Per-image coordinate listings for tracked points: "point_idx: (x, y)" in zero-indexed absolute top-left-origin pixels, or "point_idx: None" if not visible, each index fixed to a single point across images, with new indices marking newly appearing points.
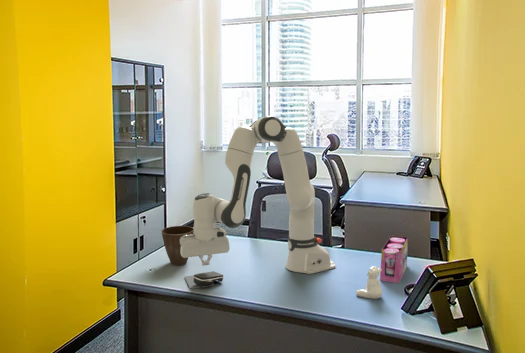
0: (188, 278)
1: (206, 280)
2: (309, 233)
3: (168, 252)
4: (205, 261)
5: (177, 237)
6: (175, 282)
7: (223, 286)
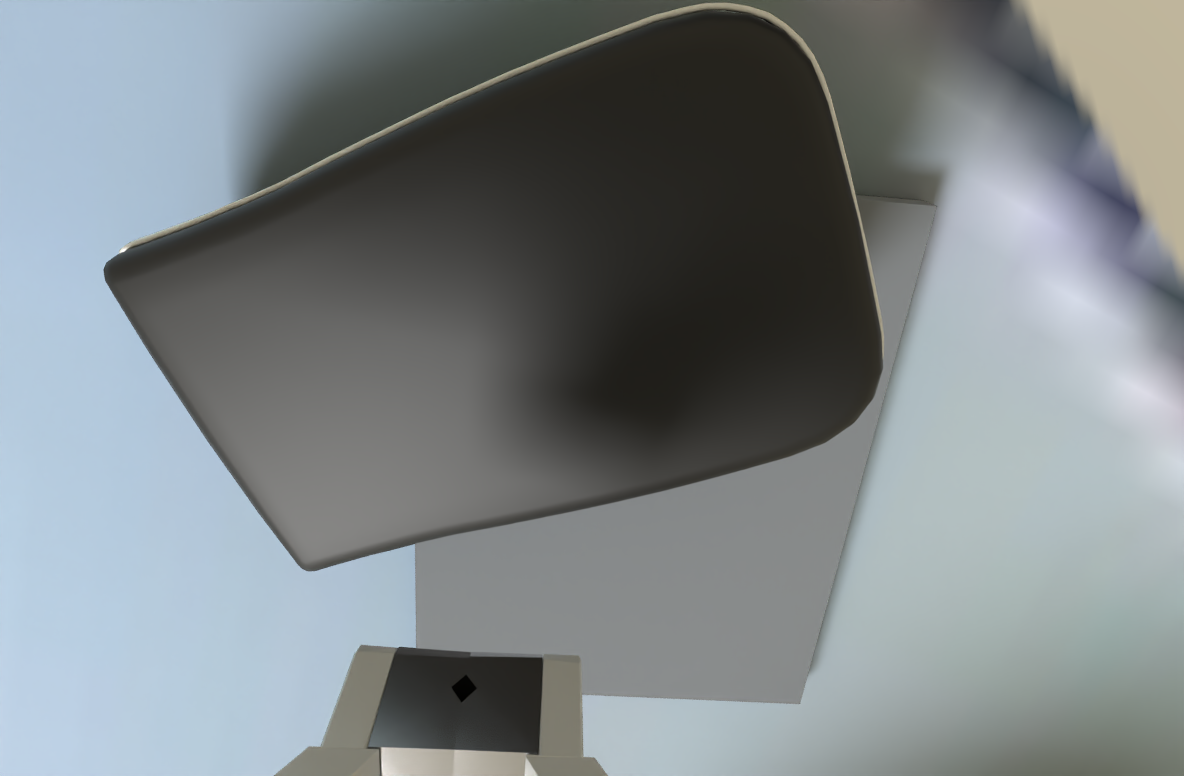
0: (775, 615)
1: (642, 20)
2: None
3: None
4: (475, 751)
5: None
6: (989, 586)
7: (229, 11)
